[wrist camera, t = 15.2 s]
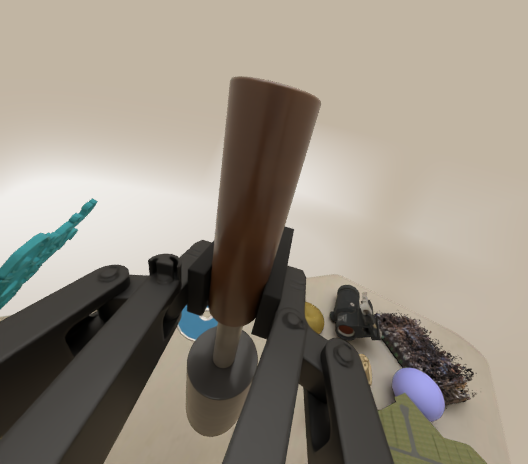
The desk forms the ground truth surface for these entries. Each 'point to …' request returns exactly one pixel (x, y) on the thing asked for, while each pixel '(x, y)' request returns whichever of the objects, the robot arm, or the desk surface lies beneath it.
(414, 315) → the desk surface
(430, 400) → the sphere
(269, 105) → the brush
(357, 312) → the scope
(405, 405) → the map
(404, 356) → the dark brown fibrous block
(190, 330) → the disc
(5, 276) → the decorative art
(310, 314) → the sculpture
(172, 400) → the desk surface
